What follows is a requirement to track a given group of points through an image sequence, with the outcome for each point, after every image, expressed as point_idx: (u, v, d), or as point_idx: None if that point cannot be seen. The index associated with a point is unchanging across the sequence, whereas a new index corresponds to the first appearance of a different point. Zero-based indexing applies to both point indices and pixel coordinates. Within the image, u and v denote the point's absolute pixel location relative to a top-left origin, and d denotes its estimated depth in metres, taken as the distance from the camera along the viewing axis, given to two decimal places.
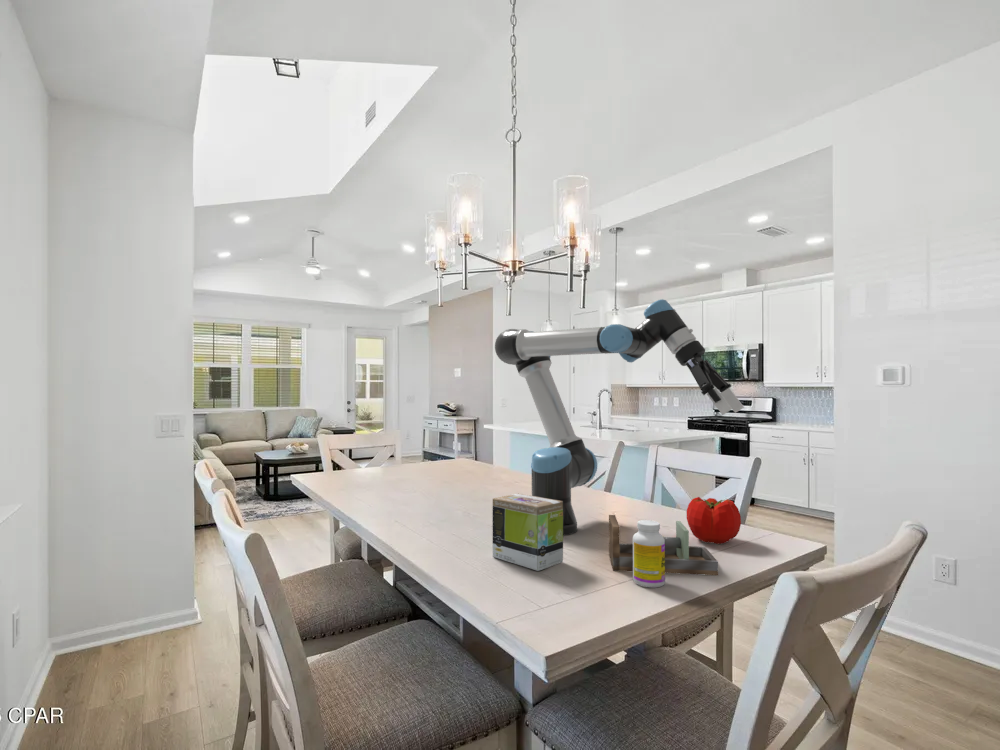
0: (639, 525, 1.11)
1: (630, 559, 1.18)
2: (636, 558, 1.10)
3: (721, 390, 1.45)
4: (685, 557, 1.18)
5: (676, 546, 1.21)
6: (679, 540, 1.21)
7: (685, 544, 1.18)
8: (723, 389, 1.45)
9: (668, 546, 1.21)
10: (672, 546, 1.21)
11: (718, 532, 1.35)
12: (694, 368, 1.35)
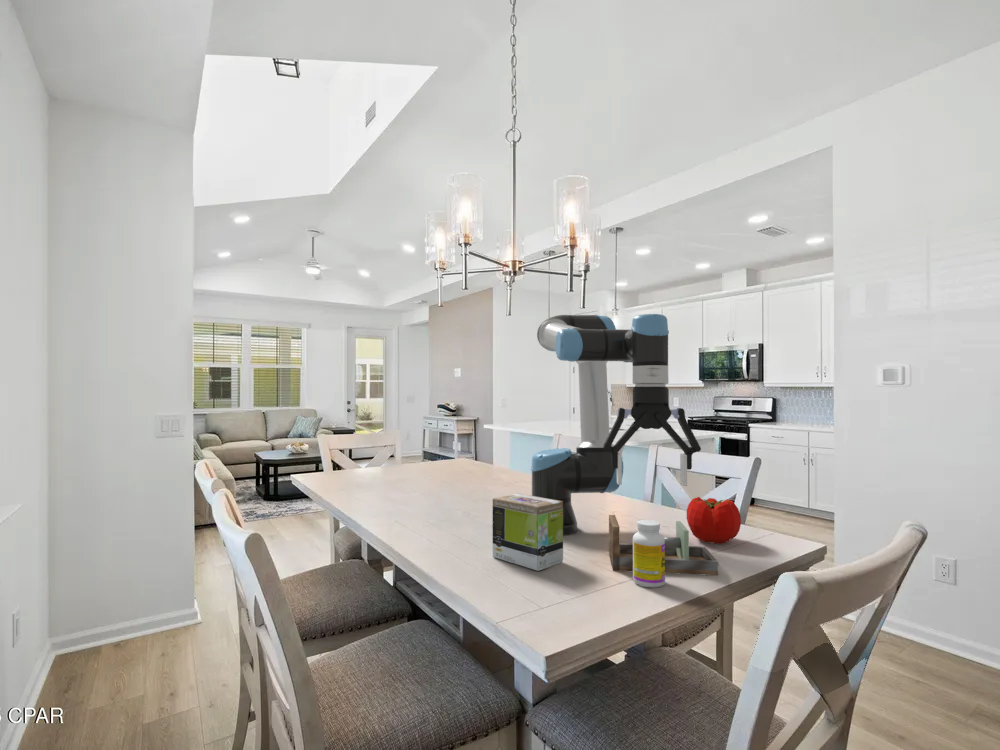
0: (639, 525, 1.11)
1: (630, 559, 1.18)
2: (636, 558, 1.10)
3: None
4: (685, 557, 1.18)
5: (676, 546, 1.21)
6: (679, 540, 1.21)
7: (685, 544, 1.18)
8: (684, 451, 1.11)
9: (668, 546, 1.21)
10: (672, 546, 1.21)
11: (718, 532, 1.35)
12: (616, 420, 1.13)
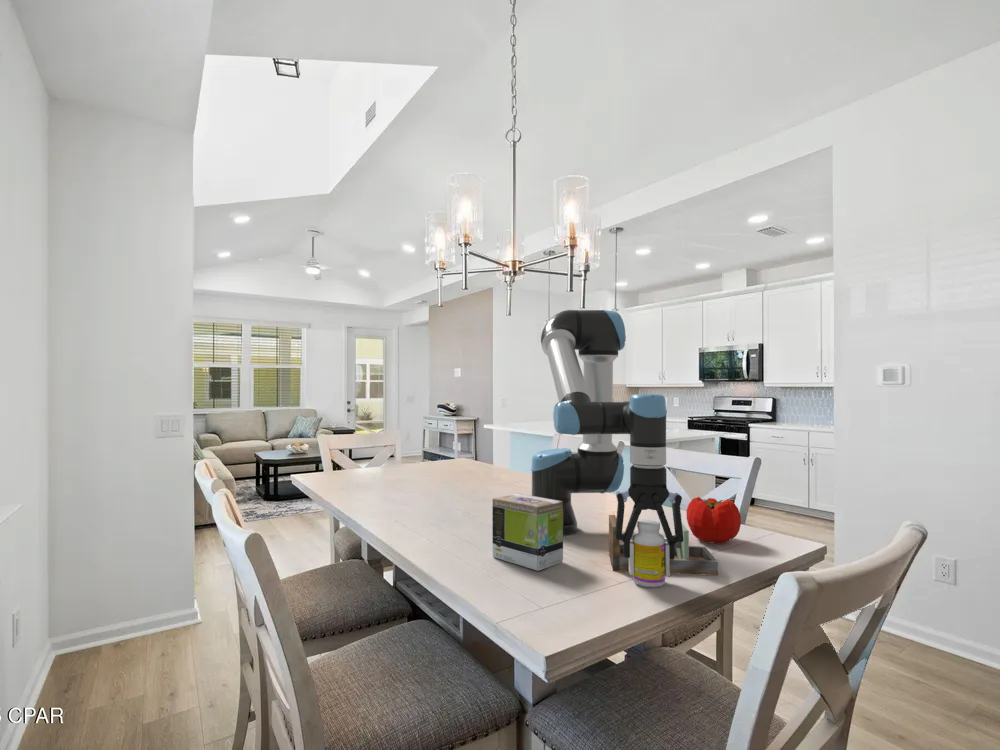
0: (639, 525, 1.11)
1: None
2: (636, 558, 1.10)
3: None
4: (685, 557, 1.18)
5: (676, 546, 1.21)
6: None
7: (685, 544, 1.18)
8: (667, 541, 1.11)
9: None
10: None
11: (718, 532, 1.35)
12: (618, 506, 1.12)
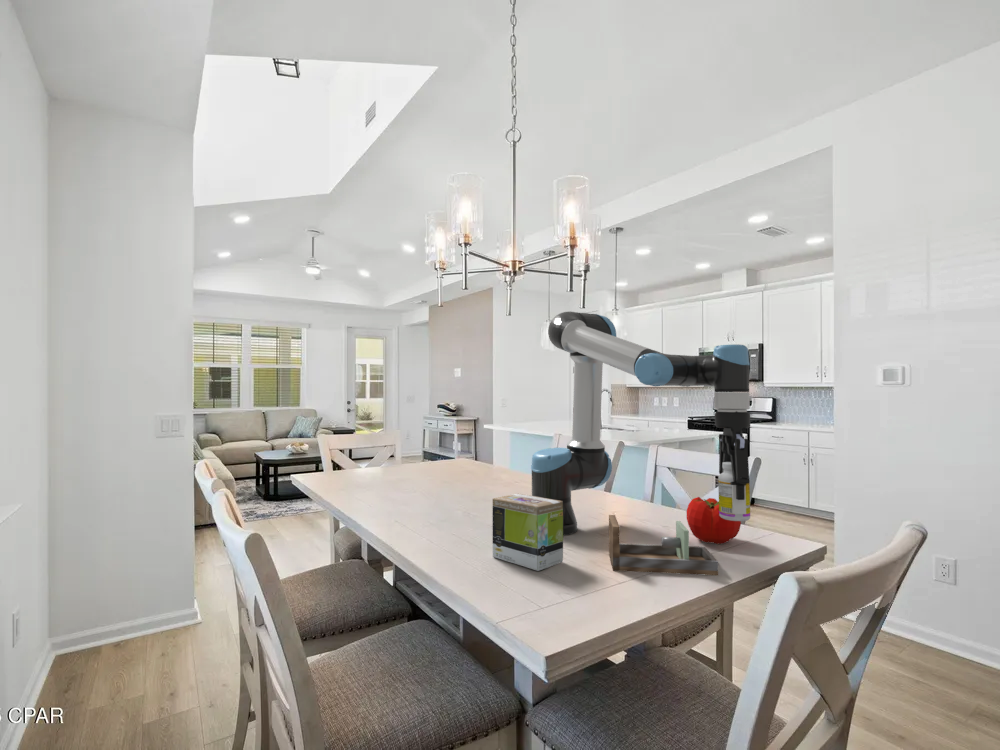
0: None
1: (630, 559, 1.18)
2: (746, 496, 1.18)
3: None
4: (685, 557, 1.18)
5: (676, 546, 1.21)
6: (679, 540, 1.21)
7: (685, 544, 1.18)
8: None
9: (668, 546, 1.21)
10: (672, 546, 1.21)
11: (718, 532, 1.35)
12: (742, 452, 1.15)
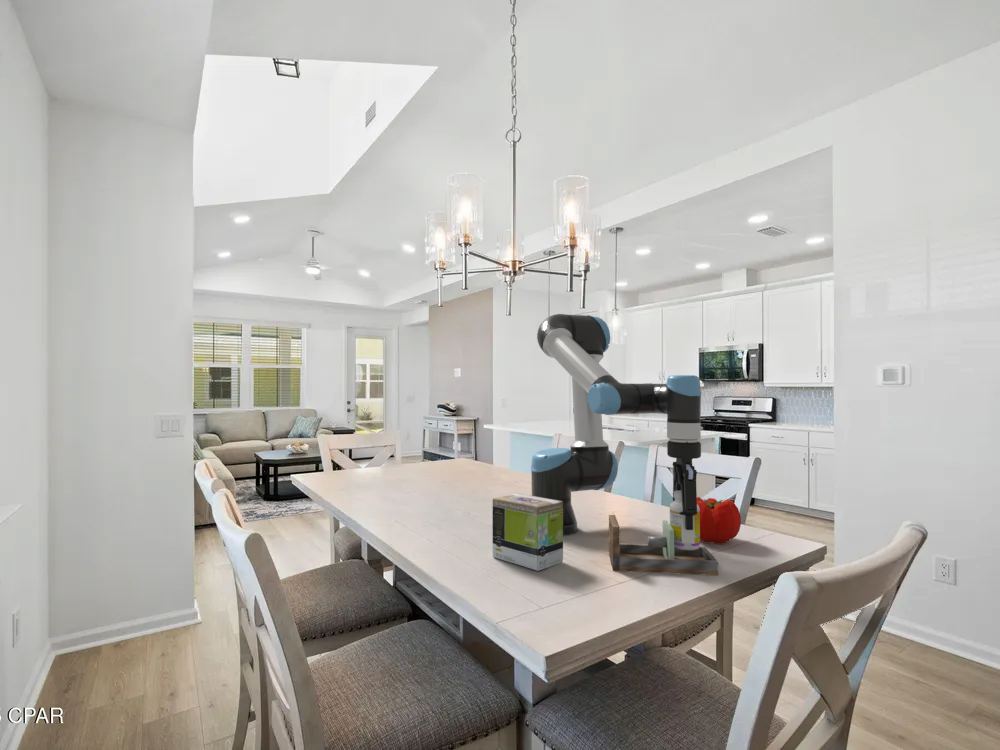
0: None
1: (630, 559, 1.18)
2: (695, 526, 1.19)
3: None
4: (670, 556, 1.18)
5: (662, 545, 1.21)
6: (665, 539, 1.22)
7: (670, 543, 1.18)
8: None
9: (654, 545, 1.22)
10: (658, 545, 1.22)
11: (718, 532, 1.35)
12: (690, 483, 1.16)
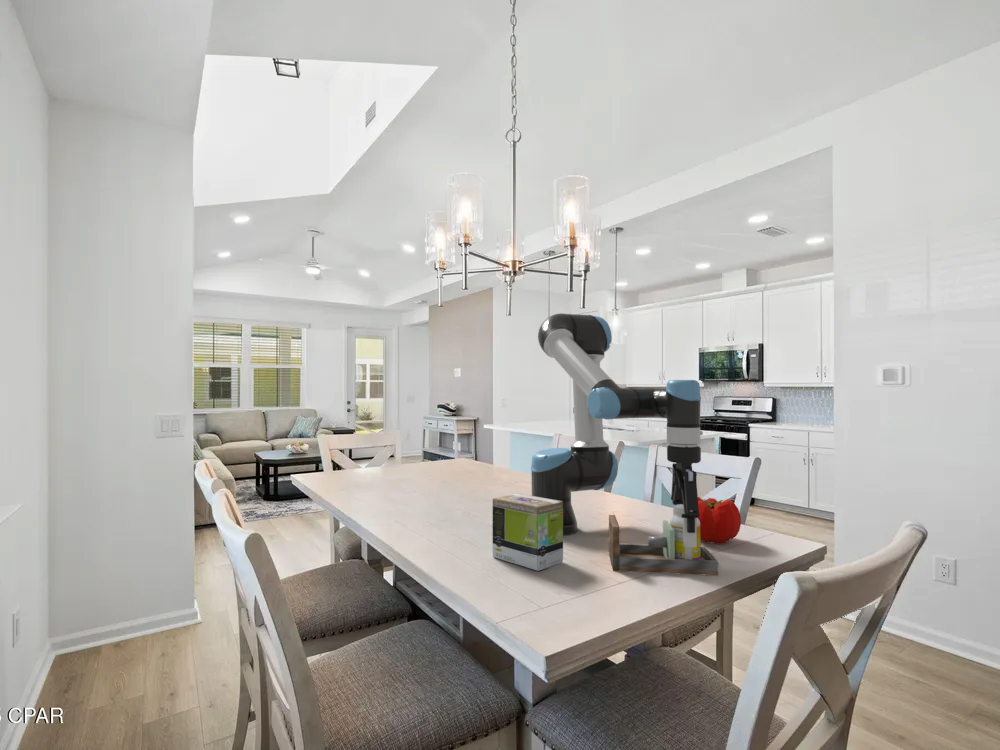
0: None
1: (630, 559, 1.18)
2: None
3: (675, 503, 1.28)
4: (671, 556, 1.18)
5: (662, 545, 1.21)
6: (665, 539, 1.22)
7: (671, 543, 1.18)
8: (678, 503, 1.28)
9: (654, 545, 1.22)
10: (658, 545, 1.22)
11: (718, 532, 1.35)
12: (691, 485, 1.15)
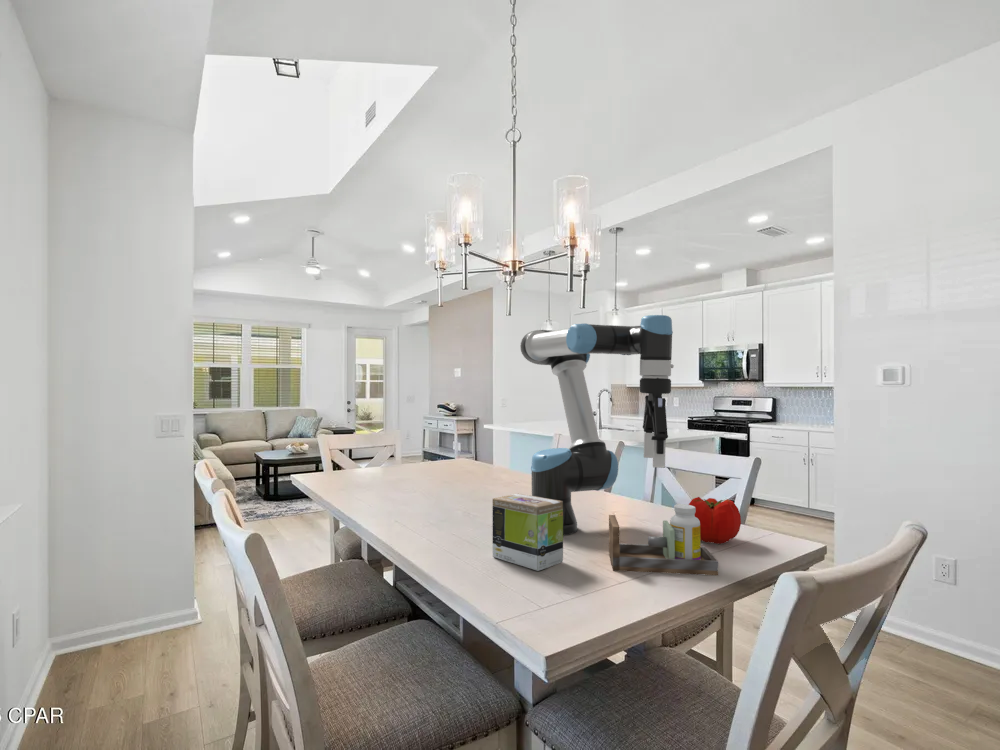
0: (691, 510, 1.20)
1: (630, 559, 1.18)
2: (696, 541, 1.19)
3: (646, 430, 1.37)
4: (671, 556, 1.18)
5: (662, 545, 1.21)
6: (665, 539, 1.22)
7: (671, 543, 1.18)
8: (648, 430, 1.37)
9: (654, 545, 1.22)
10: (658, 545, 1.22)
11: (718, 532, 1.35)
12: (660, 410, 1.22)
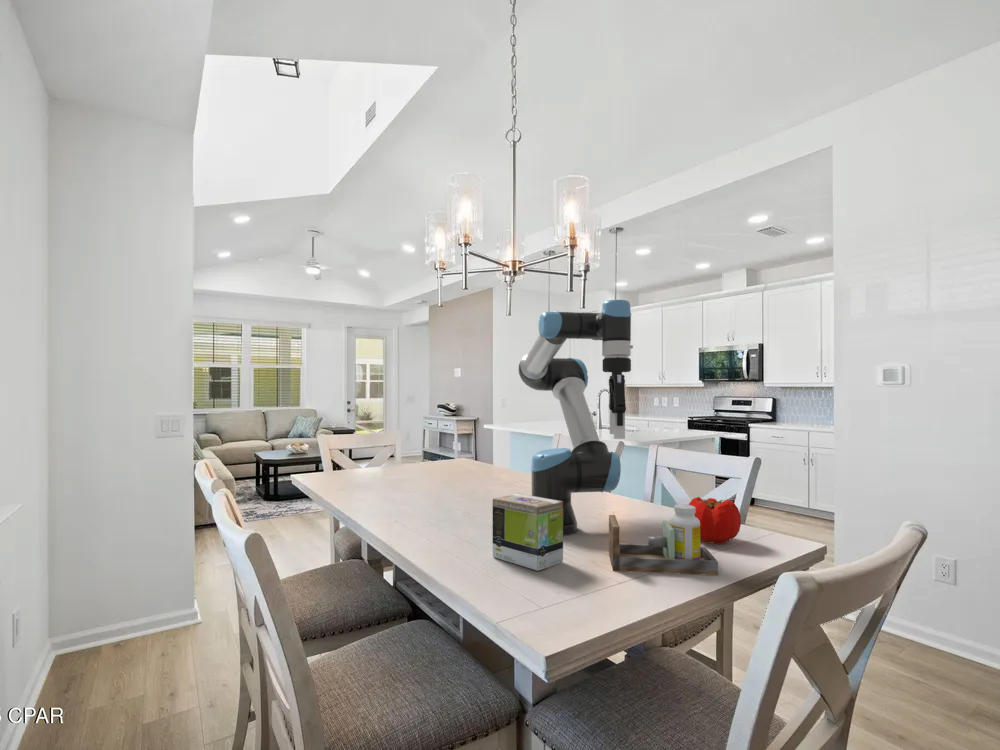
0: (691, 510, 1.20)
1: (630, 559, 1.18)
2: (696, 541, 1.19)
3: (611, 408, 1.47)
4: (671, 556, 1.18)
5: (662, 545, 1.21)
6: (665, 539, 1.22)
7: (671, 543, 1.18)
8: (613, 409, 1.47)
9: (654, 545, 1.22)
10: (658, 545, 1.22)
11: (718, 532, 1.35)
12: (619, 385, 1.33)
